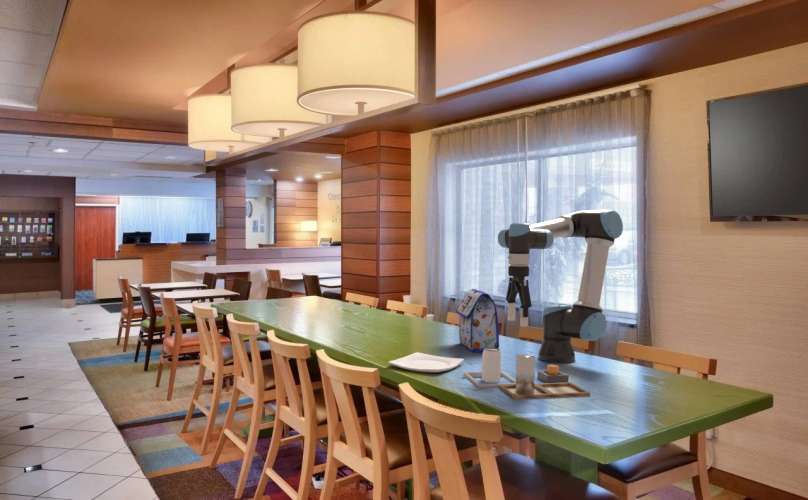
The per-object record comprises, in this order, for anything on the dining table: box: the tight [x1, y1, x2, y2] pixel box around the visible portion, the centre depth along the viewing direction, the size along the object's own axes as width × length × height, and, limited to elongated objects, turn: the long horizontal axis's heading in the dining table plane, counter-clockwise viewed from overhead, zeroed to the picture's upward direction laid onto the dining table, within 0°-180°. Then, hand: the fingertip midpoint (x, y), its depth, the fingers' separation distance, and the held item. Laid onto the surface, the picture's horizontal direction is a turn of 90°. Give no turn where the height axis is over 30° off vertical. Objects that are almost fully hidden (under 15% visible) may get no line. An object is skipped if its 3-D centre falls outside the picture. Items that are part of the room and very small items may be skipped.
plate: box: [388, 351, 465, 374], centre depth 224 cm, size 24×24×3 cm
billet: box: [515, 353, 536, 395], centre depth 184 cm, size 6×6×12 cm
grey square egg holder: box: [537, 369, 570, 383], centre depth 201 cm, size 8×8×4 cm
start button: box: [546, 364, 560, 375], centre depth 201 cm, size 4×4×4 cm
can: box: [481, 348, 502, 383], centre depth 200 cm, size 6×6×12 cm
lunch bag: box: [455, 288, 500, 353], centre depth 262 cm, size 23×17×27 cm
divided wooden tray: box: [498, 381, 591, 400], centre depth 185 cm, size 26×13×2 cm, turn 101°
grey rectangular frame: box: [462, 370, 516, 389], centre depth 200 cm, size 15×18×2 cm
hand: (517, 323), depth 206 cm, fingers open, 13 cm apart
